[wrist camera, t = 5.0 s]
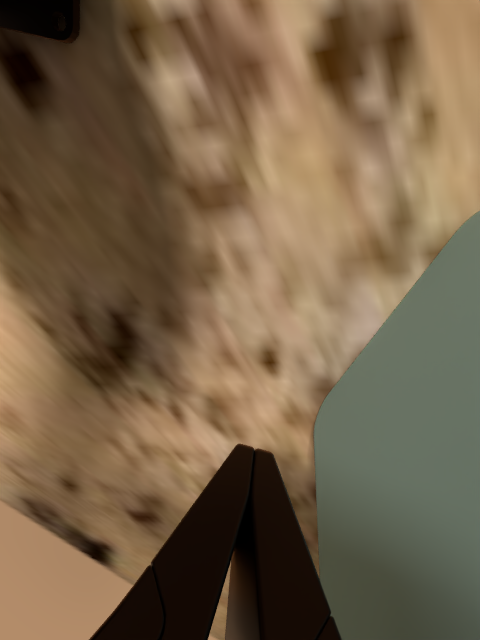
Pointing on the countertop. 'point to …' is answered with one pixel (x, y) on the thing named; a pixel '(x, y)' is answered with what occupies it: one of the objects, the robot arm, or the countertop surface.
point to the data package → (407, 465)
